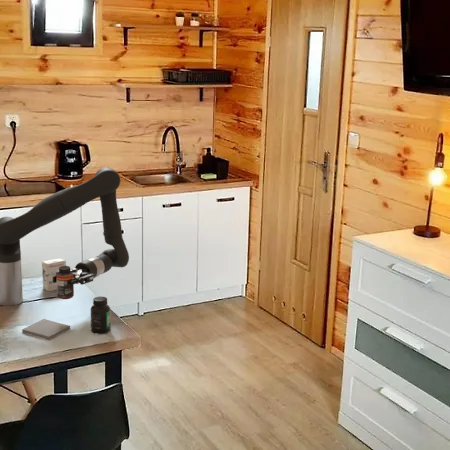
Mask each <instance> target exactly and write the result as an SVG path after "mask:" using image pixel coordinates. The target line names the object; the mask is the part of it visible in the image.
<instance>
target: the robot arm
mask: <svg viewBox="0 0 450 450" xmlns="http://www.w3.org/2000/svg"><path fill="white" fill-rule="evenodd" d="M120 184H121V177H120V174H119V173H118V172H117V171H116V170H114V169H113V168H110V167H108V166H107V167H106V166H104V167H101V168H99V169H98V170H97V171H96V173H95V175H94V176H93V177H92V178H90V179H88V180H87V181H85V182H83V183H80V184H77V185H74V186H71V187H67V188H65V189H61V190H59V191H57V192H55V193H53V194H51V195H49V196H47V197H45V198H43V199H42V200H41V201H39V202H38V203H37V204H35V206H33V207H32V208H31V209H30V210H28V211H27V212H25V213H23V214H21V215H19V216H17V217H15V218H13V217H11V216H2V217H0V305H1V306H4V307H5V306H6V307H11V306H16V305H17V306H18V305H19V304H21V303H22V302H23V300H24V298H23V273H22V272H23V271H22V252H21V239H23V238H24V237H26V236H27V235H29V234H30V233H32V232H34V231H35V230H38V229H40V228H42V227H44V226H47V225H48V224H51V223H53V222H54V221H57V220H59V219H61V218H63V217H65V216H67V215H69V214H70V213H72V212H74V211H76V210H78V209H79V208H81V207H83V206H85V205H86V204H88V203H89V202H92V201H93V200H97V199H98V198H99V200H100V206H101V207H100V208H101V216H102V228H103V236H104V238H103V239H104V243H106V244H107V245H109V246H111V247H112V248H108V249H106V250H103V251H102V252H101V253H100V254H99V255H97V256H94V257H90V258H88V259H85V260H83V261H81V262H78V263H77V264H76V265H75V267H74V268H70V271H71V272H72V273H73V278H72V279H69V280H67V286H71V285H79V284H80V285H81V286H82V285H85V284H89V283H91V282H94V279H96V278H98V277H99V276H102V275H103V274H105V273H107V272H109V271H110V270H111V269H112V268H124V267H126V266H127V265H128V264H129V261H130V254H129V250H128V248H127V246H126V244H125V240H124V238H123V231H122V230H123V229H122V223H121V217H120V214H119V213H120V212H119V209H118V207H119V206H118V203H117V202H118V201H117V189H118V188H119V187H120ZM58 272H59V270H58V271H57V272H56V276H54V277H53V282H54V283H56V282H57V273H58Z"/></svg>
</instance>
